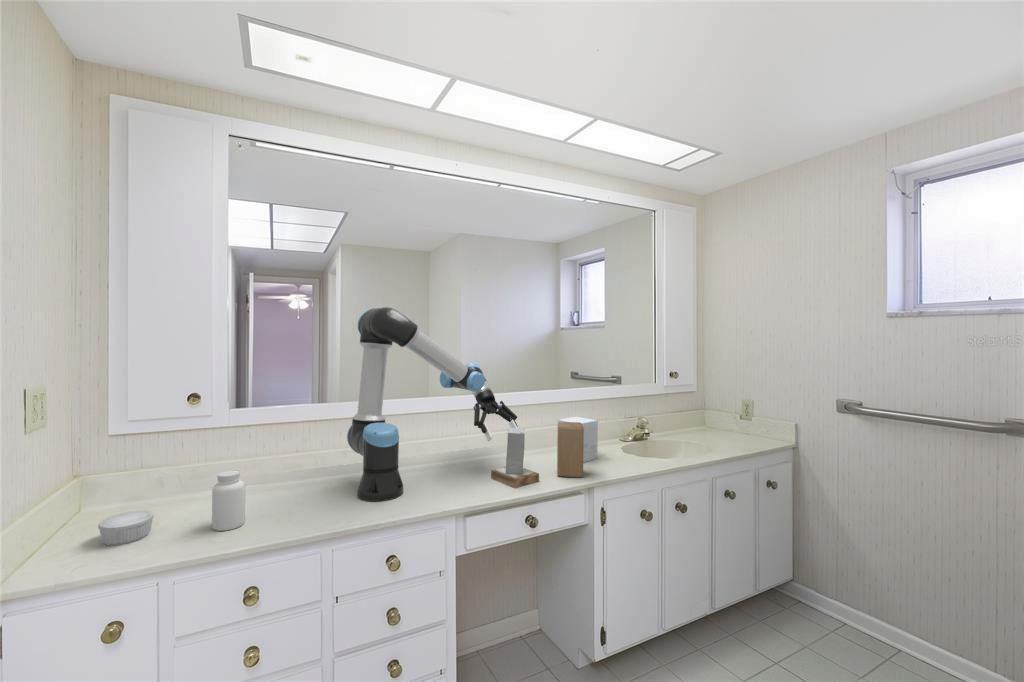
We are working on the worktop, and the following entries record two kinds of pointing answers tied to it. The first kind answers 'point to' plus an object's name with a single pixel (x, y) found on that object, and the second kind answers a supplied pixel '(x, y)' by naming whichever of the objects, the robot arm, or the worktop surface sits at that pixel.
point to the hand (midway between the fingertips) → (504, 437)
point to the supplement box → (587, 436)
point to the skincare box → (515, 451)
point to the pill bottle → (228, 501)
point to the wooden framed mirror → (515, 477)
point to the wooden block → (570, 449)
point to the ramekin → (125, 527)
